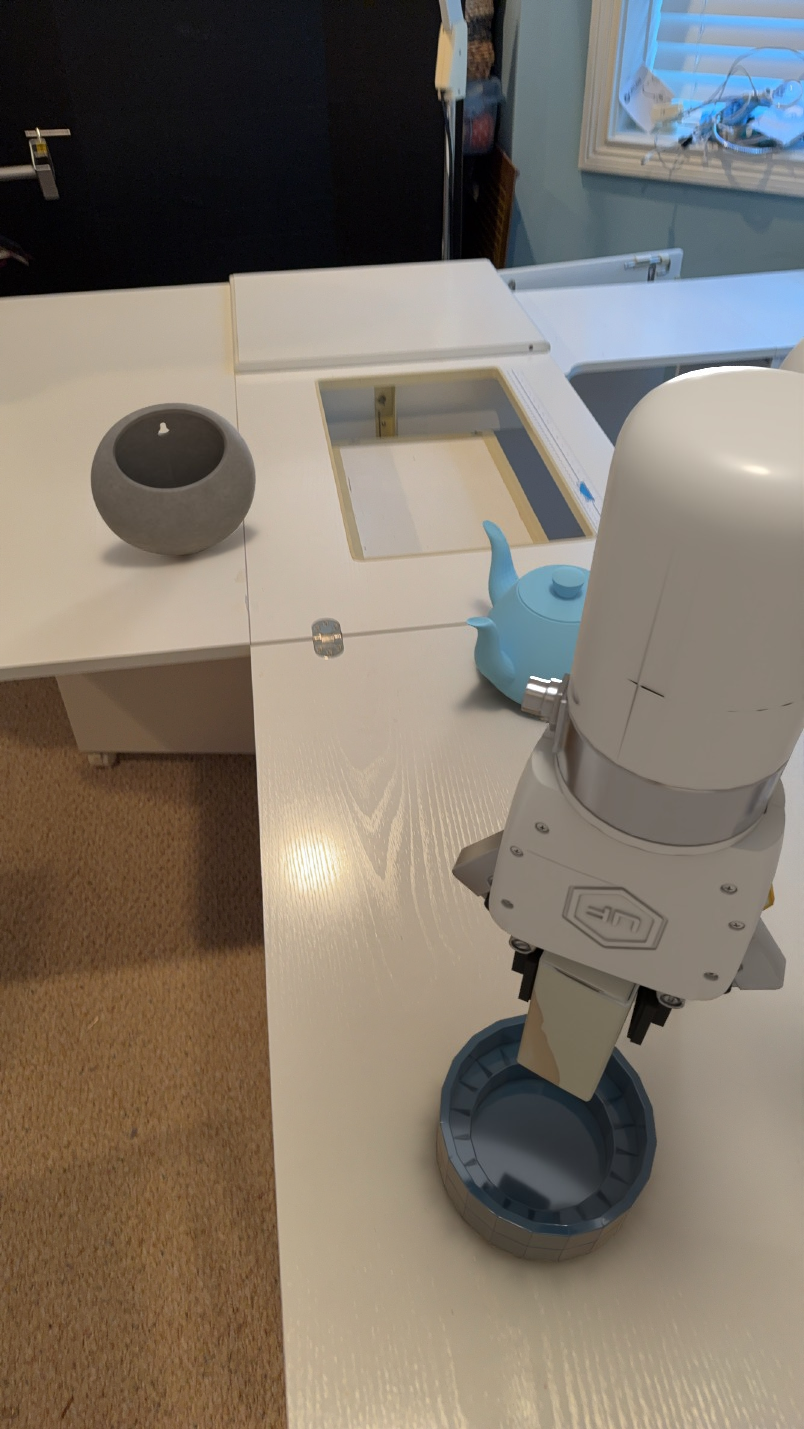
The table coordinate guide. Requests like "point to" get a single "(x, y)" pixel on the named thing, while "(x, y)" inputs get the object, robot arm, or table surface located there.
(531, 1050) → the box
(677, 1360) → the table surface
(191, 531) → the planter
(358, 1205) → the table surface
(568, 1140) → the round ribbed tray
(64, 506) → the table surface
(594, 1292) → the table surface
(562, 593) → the teapot
